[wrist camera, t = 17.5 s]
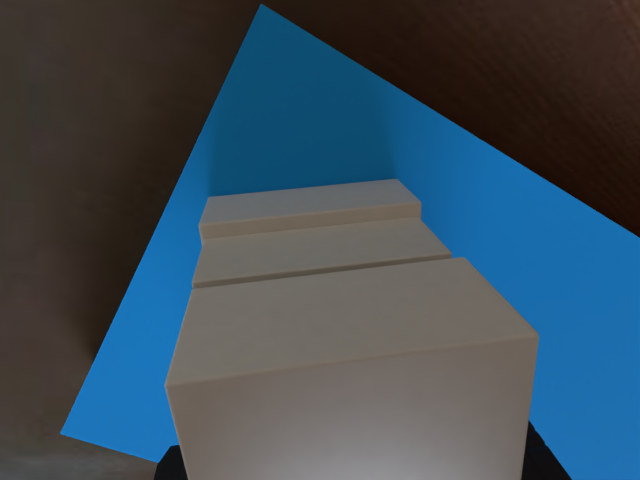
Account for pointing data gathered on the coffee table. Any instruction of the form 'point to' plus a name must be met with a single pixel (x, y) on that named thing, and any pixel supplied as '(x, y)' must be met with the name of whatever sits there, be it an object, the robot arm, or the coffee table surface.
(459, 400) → the light grey block
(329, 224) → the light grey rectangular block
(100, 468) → the coffee table surface
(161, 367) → the book
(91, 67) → the coffee table surface
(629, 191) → the coffee table surface
